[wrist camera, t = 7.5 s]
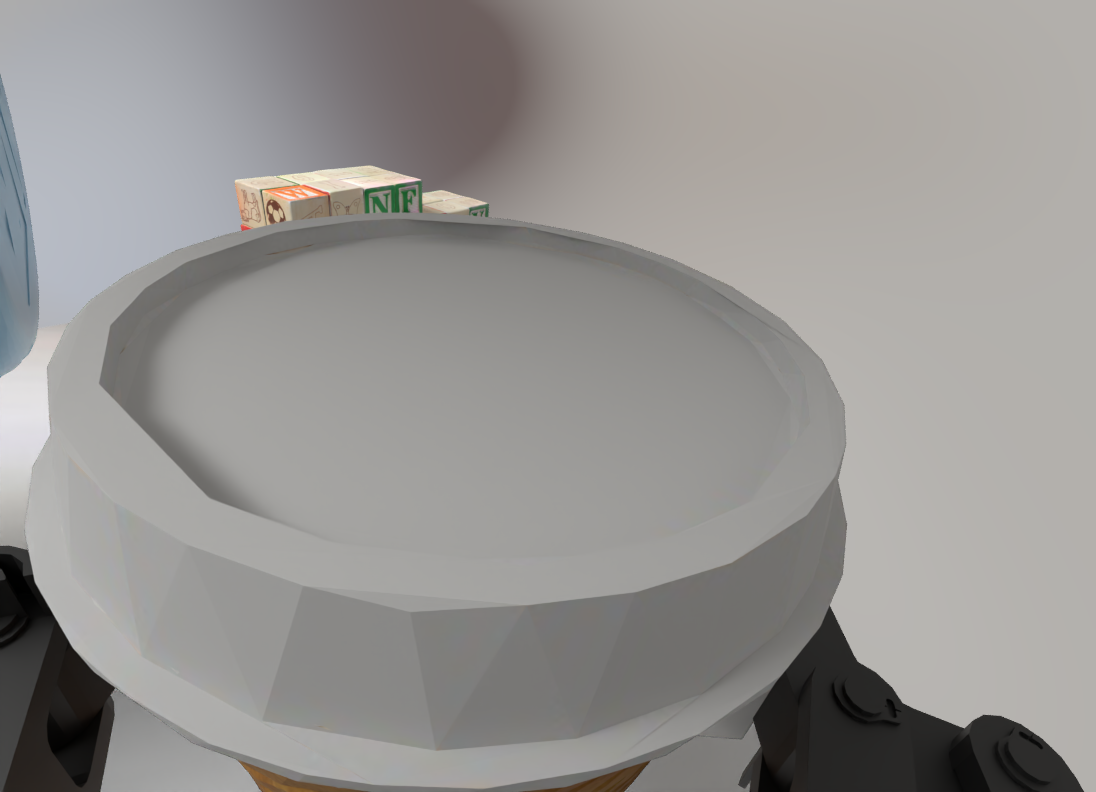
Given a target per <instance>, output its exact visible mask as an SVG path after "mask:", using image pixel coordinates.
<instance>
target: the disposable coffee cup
mask: <svg viewBox="0 0 1096 792" xmlns="http://www.w3.org/2000/svg"><path fill="white" fill-rule="evenodd" d="M47 378H48V402H49V420H50V433H51V434H50V436H49V438H48V440H47V441H46V443H45V445H44V447H43V449H42V451H41V453H40V454H39V456H38V458H37V460H36V462H35V464H34V465H33V467H32V475H31V483H30V491H29V499H28V506H27V514H26V522H25V530H24V531H25V536H26V541H27V546H28V551H29V556H30V560H31V565H32V570H33V575H34V580H35V583H36V585H37V587H38V588H39V590H40V592H41V594H42V595H43V597H44V599H45V601H46V602H47V604H48V606H49V607H50V609H51V611H52V613H53V614H54V616H55V618H56V620H57V621H58V623H59V625H60V627H61V628H62V630H63V632H64V633H65V635H66V637H67V639H68V640H69V642H70V644H71V646H72V647H73V649H74V650H75V651H76V652H77V653H78V654H79V655H80V657H81V658H82V659H83V660H84V661H85V662H86V663H87V665H88V666H89V667H90V668H91V669H92V670H93V671H94V673H96V674H97V675H99V676H100V677H101V678H103V679H104V680H106V681H107V682H108V683H110V684H111V685H112V686H114V687H115V688H117V689H118V690H119V691H121V692H122V693H124V694H125V695H126V696H128V697H129V698H130V699H132V700H133V701H135V702H136V703H137V704H139V705H140V706H142V707H143V708H144V709H146V710H147V711H148V712H150V713H151V714H153V715H154V716H155V717H157V718H158V719H159V720H161V721H162V722H164V723H165V724H166V725H168V726H169V727H171V728H172V729H173V730H175V731H176V732H177V733H179V734H180V735H182V736H183V737H184V738H186V739H187V740H189V741H190V742H191V743H194V744H196V745H199V746H202V747H205V748H207V749H210V750H213V751H215V752H218V753H221V754H224V755H226V756H229V757H232V758H235V759H237V760H238V761H239V762H240V763H241V765H242V766H243V767H244V768H245V769H246V770H247V771H248V772H249V774H250V775H251V777H252V778H253V779H254V781H255V782H256V784H257V785H258V787H259V789H260V790H261V791H262V792H624V791H625V790H626V789H627V788H628V787H629V786H630V785H631V784H632V783H633V782H634V780H635V779H636V778H637V777H638V775H639V774H640V773H641V772H642V770H643V769H644V768H645V767H646V765H647V764H648V763H649V762H650V761H651V760H653V759H656V758H659V757H662V756H665V755H667V754H669V753H670V752H672V751H673V750H675V749H677V748H678V747H680V746H681V745H683V744H684V743H686V742H688V741H689V740H691V739H692V738H694V737H696V736H697V735H699V734H700V733H702V732H704V731H705V730H707V729H708V728H710V727H712V726H713V725H715V724H716V723H718V722H720V721H721V720H723V719H724V718H726V717H728V716H729V715H731V714H732V713H734V712H736V711H737V710H739V709H740V708H742V707H744V706H745V705H747V704H748V703H750V702H752V701H753V700H755V699H756V698H758V697H760V696H761V695H763V694H764V693H766V692H768V691H769V690H770V689H771V688H772V686H773V685H774V684H775V683H776V681H777V680H778V679H779V678H780V676H781V675H782V674H783V673H784V671H785V670H786V669H787V668H788V666H789V665H790V664H791V663H792V661H793V660H794V659H795V658H796V657H797V655H798V654H799V653H800V652H801V650H802V649H803V648H804V647H805V645H806V644H807V643H808V642H809V640H810V639H811V638H812V637H813V635H814V634H815V633H816V632H817V630H818V629H819V628H820V626H821V624H822V622H823V619H824V617H825V615H826V612H827V610H828V608H829V605H830V603H831V601H832V598H833V596H834V594H835V591H836V589H837V587H838V585H839V582H840V580H841V577H842V575H843V564H844V552H845V541H846V530H847V523H846V518H845V513H844V508H843V503H842V498H841V493H840V488H839V484H838V478H839V474H840V469H841V465H842V460H843V456H844V452H845V447H846V432H845V410H844V403H843V401H842V400H841V397H840V395H839V393H838V391H837V389H836V387H835V385H834V383H833V381H832V379H831V377H830V375H829V373H828V371H827V369H826V367H825V365H824V363H823V361H822V359H821V358H820V357H819V356H818V355H817V354H816V353H815V352H814V351H813V350H812V349H811V348H810V347H809V346H808V345H807V344H806V343H805V342H804V341H803V340H802V339H801V338H800V337H799V336H798V335H797V334H796V333H795V332H794V331H793V330H792V329H791V328H790V327H789V326H788V325H787V324H786V323H785V322H784V321H783V320H782V319H780V318H779V317H777V316H775V315H774V314H773V313H771V312H770V311H768V310H767V309H765V308H764V307H762V306H761V305H759V304H757V303H756V302H754V301H753V300H751V299H749V298H748V297H747V296H745V295H744V294H742V293H741V292H739V291H737V290H736V289H735V288H733V287H731V286H729V285H727V284H725V283H723V282H720V281H719V280H716V279H714V278H712V277H710V276H708V275H706V274H703V273H701V272H699V271H697V270H695V269H693V268H690V267H688V266H686V265H684V264H682V263H679V262H677V261H675V260H673V259H670V258H667V257H664V256H661V255H658V254H655V253H652V252H649V251H646V250H643V249H640V248H637V247H634V246H631V245H628V244H625V243H621V242H618V241H614V240H610V239H606V238H602V237H599V236H595V235H591V234H587V233H583V232H577V231H572V230H567V229H561V228H555V227H550V226H544V225H538V224H533V223H527V222H522V221H516V220H511V219H501V218H490V217H481V216H471V215H459V214H437V213H367V214H353V215H339V216H330V217H320V218H311V219H302V220H292V221H285V222H280V223H276V224H271V225H266V226H262V227H257V228H253V229H248V230H244V231H239V232H235V233H230V234H226V235H223V236H220V237H217V238H213V239H210V240H207V241H204V242H201V243H198V244H194V245H191V246H188V247H185V248H182V249H178V250H176V251H174V252H172V253H170V254H167V255H166V256H163V257H161V258H159V259H157V260H156V261H153V262H151V263H149V264H147V265H145V266H143V267H141V268H139V269H137V270H135V271H133V272H131V273H129V274H127V275H125V276H124V277H122V278H121V279H119V280H118V281H117V282H115V283H114V284H113V285H111V286H110V287H108V288H107V289H106V290H104V291H103V292H101V293H100V294H98V295H97V296H96V297H94V298H93V299H91V300H90V301H89V302H88V303H87V304H86V305H85V306H84V307H83V309H82V310H81V311H80V312H79V313H78V314H77V315H76V316H75V317H74V318H73V320H72V321H71V322H70V323H69V324H68V325H67V327H66V329H65V331H64V333H63V335H62V337H61V339H60V341H59V343H58V345H57V347H56V349H55V352H54V354H53V356H52V358H51V360H50V362H49V364H48V366H47Z"/></svg>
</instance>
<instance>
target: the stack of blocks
mask: <svg viewBox="0 0 1096 792" xmlns="http://www.w3.org/2000/svg"><path fill="white" fill-rule="evenodd" d="M235 187H236V192H237V197H238V203H239V208H240V214H241V219H242V222H243V224H241V230H242V231H244V230H248V229H253V228H257V227H262V226H266V225H271V224H276V223H280V222H285V221H292V220H302V219H311V218H320V217H330V216H339V215H353V214H367V213H437V214H459V215H471V216H481V217H488V210H489V204H488V203H485V202H482V201H478V200H475V199H472V198H469V197H463V196H460V195H457V194H453V193H450V192H446V191H443V190H440V191H434V192H427V193H423V194H422V180H420V179H416V178H413V177H409V176H405V175H402V174H398V173H394V172H391V171H387V170H383V169H380V168H377V167H374V166H362V167H361V166H360V167H351V168H344V169H342V168H341V169H330V170H321V171H314V172H312V173H311V172H310V173H309V172H308V173H299V174H290V175H281V176H276V177H273V176H270V177H260V178H250V179H240V180H235Z"/></svg>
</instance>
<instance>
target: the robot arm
mask: <svg viewBox="0 0 1096 792" xmlns="http://www.w3.org/2000/svg"><path fill="white" fill-rule="evenodd" d="M38 319H39V290H38V274H37V264H36V256H35V248H34V240H33V233H32V225H31V218H30V211H29V205H28V199H27V193H26V188H25V182H24V176H23V172H22V166H21V161H20V156H19V151H18V146H17V141H16V137H15V132H14V127H13V123H12V119H11V114H10V110H9V106H8V102H7V98H6V94H5V90H4V86H3V83H2V79H1V75H0V378H1V376H3V375H5V374H6V373H8V372H10V371H12V370H13V369H15V368H16V367H17V366H18V365H19V364H20V363H21V361H22V360H23V359H24V358H25V357H26V356H27V355H28V354H29V352H30V351H31V349H32V347H33V345H34V342H35V339H36V335H37V330H38ZM114 689H115V687H114V686H112V685H111V684H110V683H108V682H107V681H106V680H104V679H103V678H101V677H100V676H99V675H97V674H96V673H94V671H93V670H92V669H91V668H90V667H89V666H88V665H87V663H86V662H85V661H84V660H83V659H82V658H81V657H80V655H79V654H78V653H77V652H76V651H75V650H74V649H73V647H72V646H71V644H70V642H69V640H68V639H67V637H66V635H65V633H64V632H63V630H62V628H61V627H60V625H59V623H58V621H57V620H56V618H55V616H54V614H53V613H52V611H51V609H50V607H49V606H48V604H47V602H46V601H45V599H44V597H43V595H42V594H41V592H40V590H39V588H38V587H37V585H36V583H35V580H34V575H33V570H32V565H31V560H30V556H29V552H28V551H27V550H25V549H21V548H17V547H13V546H0V792H100V790H101V785H102V779H103V774H104V769H105V763H106V758H107V753H108V747H109V742H110V737H111V731H112V726H113V721H114V701H113V700H112V698H111V696H110V695H111V693H112V692H113V690H114ZM753 721H754V724H755V727H756V731H757V734H758V738H759V741H760V745H761V747H760V748H759V750H758V751H757V753H756V754H755V756H754V757H753V759H752V760H751V761H750V763H749V764H748V766H747V767H746V769H745V770H744V772H743V773H742V776H741V779H740V781H739V784H738V785H739V786H741V787H743V788H746V786H747V785H748V783H749V782H750V781H751V784H750V792H1084V791H1083V789H1082V788H1081V786H1080V784H1079V782H1078V780H1077V779H1076V777H1075V776H1074V774H1073V773H1072V772H1071V770H1070V769H1069V767H1068V766H1067V765H1066V763H1065V762H1064V760H1063V759H1062V758H1061V757H1060V756H1059V755H1058V754H1057V753H1056V752H1055V751H1054V750H1053V749H1052V748H1051V747H1050V746H1049V745H1048V744H1047V743H1046V742H1045V741H1044V740H1043V739H1042V738H1040V737H1039V736H1037V735H1036V734H1034V733H1033V732H1031V731H1030V730H1028V729H1027V728H1025V727H1024V726H1022V725H1021V724H1019V723H1016V722H1014V721H1011V720H1009V719H1006V718H1004V717H1002V716H993V715H992V716H991V715H983V716H981V717H979V718H977V719H975V720H974V721H972V722H971V723H970V724H969V725H968V726H967V727H966V728H965V729H964V728H962V727H959V726H956V725H953V724H951V723H949V722H946V721H944V720H941V719H939V718H936V717H933V716H931V715H928V714H926V713H923V712H921V711H918V710H916V709H913V708H911V707H909V706H907V705H905V704H903V703H902V702H901V700H900V699H899V698H898V696H897V695H896V693H895V691H894V690H893V688H892V687H891V686H890V685H889V684H887V682H885V681H884V680H883V679H882V678H881V677H880V676H879V675H878V674H877V673H876V672H874V671H872V670H871V669H869V668H867V667H865V666H864V665H862V664H860V663H859V662H857V660H856V658H855V657H854V655H853V653H852V651H851V649H850V646H849V644H848V642H847V640H846V638H845V636H844V634H843V632H842V630H841V628H840V626H839V624H838V622H837V620H836V618H835V615H834V613H833V611H832V609H831V607H830V605H829V608H828V610H827V612H826V615H825V617H824V619H823V622H822V624H821V626H820V628H819V629H818V630H817V632H816V633H815V634H814V635H813V637H812V638H811V639H810V640H809V642H808V643H807V644H806V645H805V647H804V648H803V649H802V650H801V652H800V653H799V654H798V655H797V657H796V658H795V659H794V660H793V661H792V663H791V664H790V665H789V666H788V668H787V669H786V670H785V671H784V673H783V674H782V675H781V676H780V678H779V679H778V680H777V681H776V683H775V684H774V685H773V686H772V688H771V689H770V690H769V691H768V692H766V693H764V694H763V695H761V696H760V697H758V698H756V699H755V700H753V701H752V702H750V703H748V704H747V705H745V706H744V707H742V708H740V709H739V710H737V711H736V712H734V713H732V714H731V715H729V716H728V717H726V718H724V719H723V720H721V721H720V722H718V723H716V724H715V725H713V726H712V727H710V728H708V729H707V730H705V731H704V732H702V733H700V734H699V735H698V736H705V737H718V738H731V739H743V737H744V735H745V734H746V732H747V731H748V729H749V728H750V726H751V725H752V723H753Z"/></svg>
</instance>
